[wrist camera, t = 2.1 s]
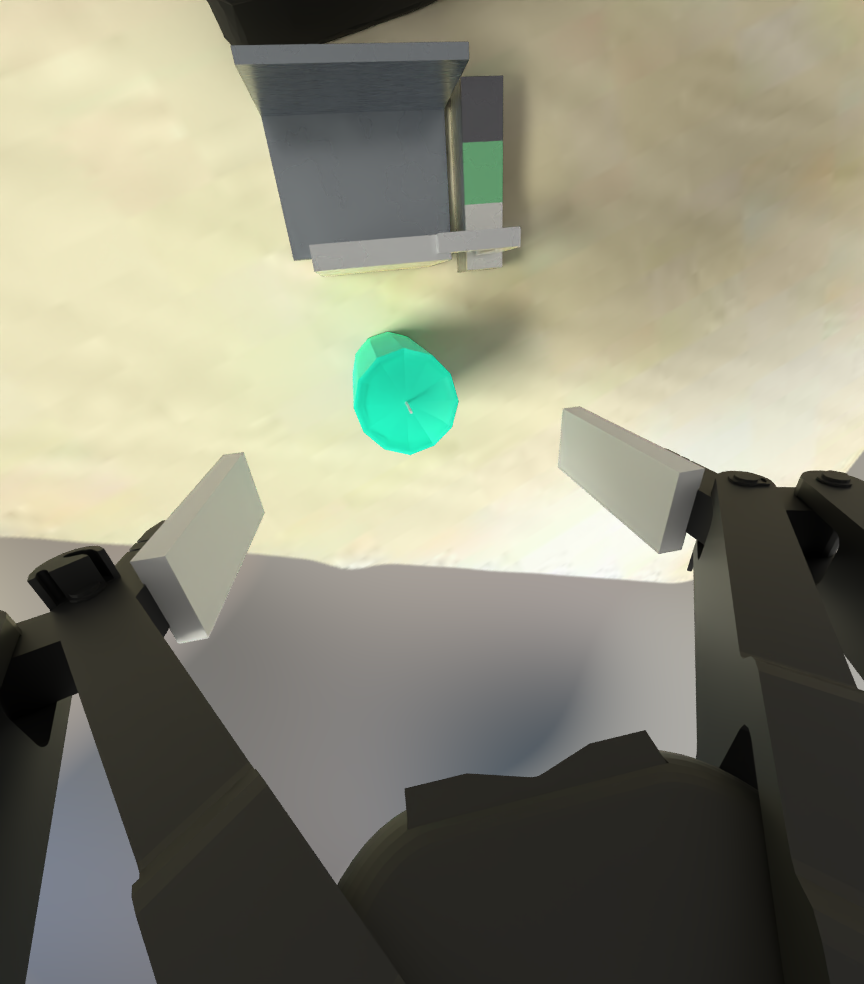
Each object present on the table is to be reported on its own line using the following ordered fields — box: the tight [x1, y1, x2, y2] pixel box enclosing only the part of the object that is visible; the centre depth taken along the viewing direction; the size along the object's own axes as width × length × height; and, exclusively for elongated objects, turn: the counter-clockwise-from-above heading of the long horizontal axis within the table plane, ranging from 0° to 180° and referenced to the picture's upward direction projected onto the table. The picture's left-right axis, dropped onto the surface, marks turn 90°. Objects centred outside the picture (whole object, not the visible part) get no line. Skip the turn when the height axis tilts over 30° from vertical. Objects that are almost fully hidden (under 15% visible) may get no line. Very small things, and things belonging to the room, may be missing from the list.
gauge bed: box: [231, 42, 503, 272], centre depth 22 cm, size 14×9×6 cm
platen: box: [309, 226, 521, 276], centre depth 23 cm, size 12×1×7 cm, turn 95°
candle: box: [353, 332, 459, 455], centre depth 25 cm, size 6×6×12 cm
